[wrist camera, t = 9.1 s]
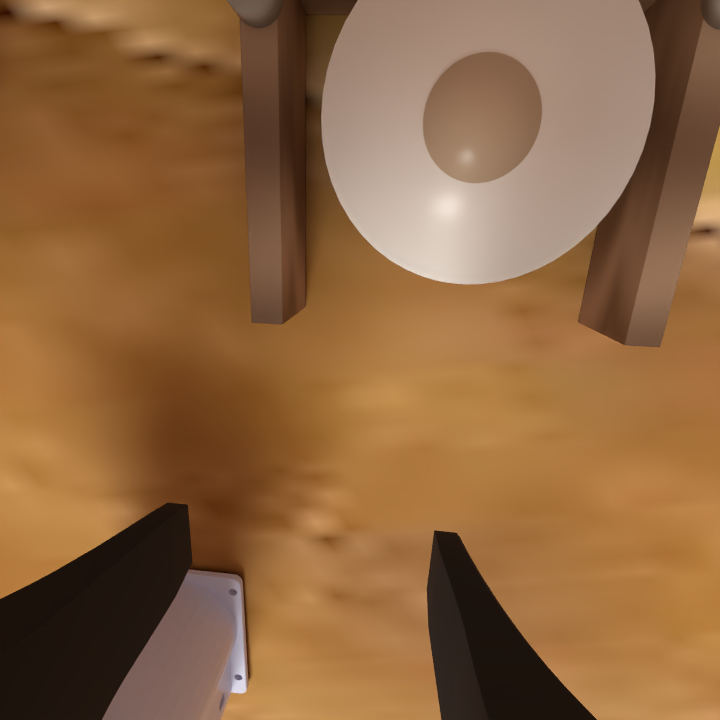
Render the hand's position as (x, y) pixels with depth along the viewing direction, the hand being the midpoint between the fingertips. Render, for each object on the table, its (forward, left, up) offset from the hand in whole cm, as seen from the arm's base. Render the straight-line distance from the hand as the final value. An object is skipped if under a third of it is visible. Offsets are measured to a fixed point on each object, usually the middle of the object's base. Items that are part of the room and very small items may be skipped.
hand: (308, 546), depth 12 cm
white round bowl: (+12, -4, -10) cm, 16 cm away
